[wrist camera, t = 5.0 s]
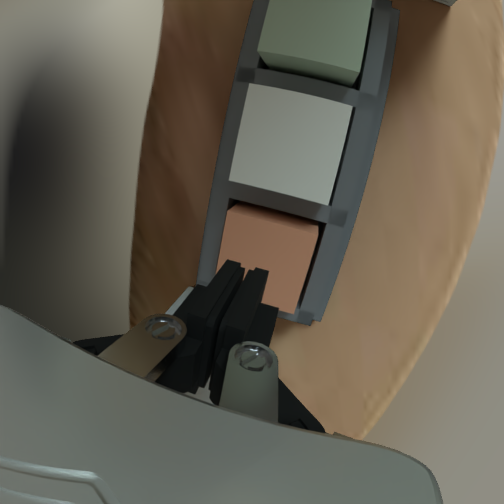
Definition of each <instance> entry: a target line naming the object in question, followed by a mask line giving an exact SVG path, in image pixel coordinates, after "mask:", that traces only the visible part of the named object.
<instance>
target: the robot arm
mask: <svg viewBox="0 0 504 504" xmlns="http://www.w3.org/2000/svg"><path fill="white" fill-rule="evenodd" d="M244 273H245V268H243V267H241V263H239V262H236V261H232V260H228V259H227V260H226V261H225V263H224V264H223V265H222V267H221V268H220V269H219V271H218V272H217V273H216V275H215V276H214V278H213V279H212V280H211V282H210V283H209V284H208V286H207V287H206V286H203V285H200V284H197V285H196V286H195V287H194V289H193V290H192V291H191V292H190V294H189V295H188V296H187V297H186V299H185V300H184V301H183V302H182V304H181V305H180V306H179V307H178V309H177V310H176V311H175V312H174V314H173V315H170V314H154V315H150V316H148V317H146V318H145V319H143V320H142V321H141V322H140V323H138V324H137V325H136V326H134V327H133V328H132V329H131V330H129V331H128V332H127V333H126V334H123V335H115V336H108V337H100V338H93V339H85V340H79V341H75V342H73V343H71V340H70V339H67V338H64V337H61V336H59V335H57V334H55V333H53V332H52V331H50V330H48V329H47V328H45V327H43V326H41V325H40V324H38V323H36V322H34V321H32V320H31V319H29V318H27V317H25V316H24V315H22V314H20V313H18V312H16V311H14V310H12V309H10V308H7V307H4V306H2V305H0V504H443V500H442V496H441V493H440V488H439V486H438V483H437V481H436V479H435V477H434V475H433V473H432V472H431V470H430V469H429V468H428V467H426V465H424V464H423V463H421V462H420V461H418V460H417V459H415V458H413V457H411V456H409V455H407V454H404V453H402V452H400V451H398V450H395V449H391V448H388V447H385V446H382V445H379V444H375V443H370V442H366V441H362V440H356V439H353V438H350V437H347V436H345V435H342V434H339V433H336V432H334V433H333V435H332V434H329V433H326V432H325V430H324V428H323V426H322V425H321V424H320V422H319V421H318V420H317V419H316V418H315V417H314V416H313V415H312V414H311V413H310V412H309V411H308V410H307V409H306V408H305V406H304V405H303V404H302V403H301V402H300V401H299V400H298V399H297V398H296V397H295V396H294V394H293V393H292V392H291V391H290V390H289V389H288V388H287V387H286V386H285V384H284V383H283V382H282V381H281V380H280V379H279V378H278V359H277V356H276V354H275V353H274V351H272V350H271V349H270V348H269V345H270V341H271V337H272V334H273V330H274V326H275V322H276V318H277V315H278V311H279V308H278V307H274V306H271V305H267V304H264V303H261V302H262V298H263V294H264V290H265V286H266V282H267V278H268V274H269V271H268V270H264V269H261V268H257V267H255V269H254V270H250V269H249V270H248V272H247V274H246V276H245V278H244ZM243 278H244V280H243ZM210 375H211V376H210ZM209 377H210V382H209V388H208V390H210V396H209V398H210V400H211V401H212V403H213V404H211V403H208V402H206V401H203V400H200V399H197V398H194V397H191V396H189V395H186V394H183V393H187V392H189V393H192V394H196V392H197V390H198V388H199V387H201V388H205V386H206V384H207V382H208V380H209Z"/></svg>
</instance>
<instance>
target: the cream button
mask: <svg viewBox="0 0 504 504" xmlns="http://www.w3.org/2000/svg"><path fill="white" fill-rule="evenodd" d="M352 107H353V106H350V105H347V104H343V103H340V102H336V101H332V100H329V99H325V98H321V97H317V96H312V95H308V94H304V93H299V92H295V91H290V90H285V89H280V88H275V87H269V86H263V85H257V84H251V83H249V87H248V91H247V96H246V100H245V105H244V109H243V114H242V118H241V123H240V128H239V132H238V137H237V142H236V147H235V152H234V156H233V161H232V166H231V171H230V176H229V181H234V182H238V183H242V184H246V185H251V186H255V187H259V188H263V189H267V190H271V191H275V192H279V193H283V194H287V195H291V196H294V197H298V198H302V199H306V200H309V201H313V202H317V203H320V204H324V205H327V206H328V204H329V201H330V197H331V193H332V189H333V186H334V182H335V178H336V174H337V170H338V166H339V162H340V158H341V154H342V150H343V146H344V142H345V138H346V134H347V129H348V125H349V121H350V116H351V112H352Z"/></svg>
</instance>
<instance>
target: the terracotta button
mask: <svg viewBox="0 0 504 504" xmlns="http://www.w3.org/2000/svg"><path fill="white" fill-rule="evenodd" d="M317 238H318V221H317V220H314V219H310V218H306V217H303V216H299V215H295V214H291V213H288V212H284V211H280V210H276V209H272V208H269V207H265V206H261V205H257V204H253V203H249V202H245V201H240V202H239V203H237V204H236V205H235V206H233V207H232V208H231V209H229V210H228V211H227V215H226V220H225V226H224V231H223V236H222V242H221V247H220V253H219V258H218V264H217V270H216V273H217V272H218V271H219V269H220V268H221V267H222V265H223V264H224V263H225V261H226V260H227V259H228V260H232V261H236V262H239V263H241V267H243V268H245V273H244V278H245V276H246V274H247V272H248V270H249V269H250V270H254V269H255V267H257V268H261V269H264V270H268V271H269V274H268V278H267V282H266V286H265V290H264V294H263V298H262V302H261V303H264V304H267V305H271V306H274V307H278V308H279V310H280V311H284V312H287V313H291V314H294V312H295V309H296V306H297V303H298V299H299V296H300V293H301V290H302V287H303V284H304V281H305V277H306V274H307V271H308V268H309V264H310V261H311V258H312V255H313V251H314V248H315V244H316V241H317ZM244 278H243V280H244Z"/></svg>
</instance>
